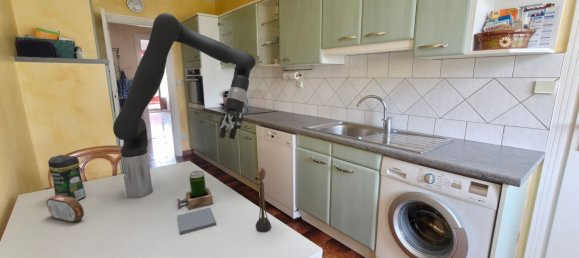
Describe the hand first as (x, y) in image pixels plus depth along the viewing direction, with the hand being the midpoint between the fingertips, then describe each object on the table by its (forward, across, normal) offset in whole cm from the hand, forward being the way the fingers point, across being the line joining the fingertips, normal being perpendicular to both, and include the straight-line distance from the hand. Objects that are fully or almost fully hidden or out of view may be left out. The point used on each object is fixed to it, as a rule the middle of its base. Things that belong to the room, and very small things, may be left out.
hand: (226, 138), depth 105 cm
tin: (+40, -23, -40) cm, 61 cm away
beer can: (+26, -3, -3) cm, 27 cm away
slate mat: (+30, +10, -8) cm, 33 cm away
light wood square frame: (+27, -3, -4) cm, 27 cm away
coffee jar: (+37, -42, -39) cm, 68 cm away
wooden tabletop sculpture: (+27, +28, +6) cm, 40 cm away
